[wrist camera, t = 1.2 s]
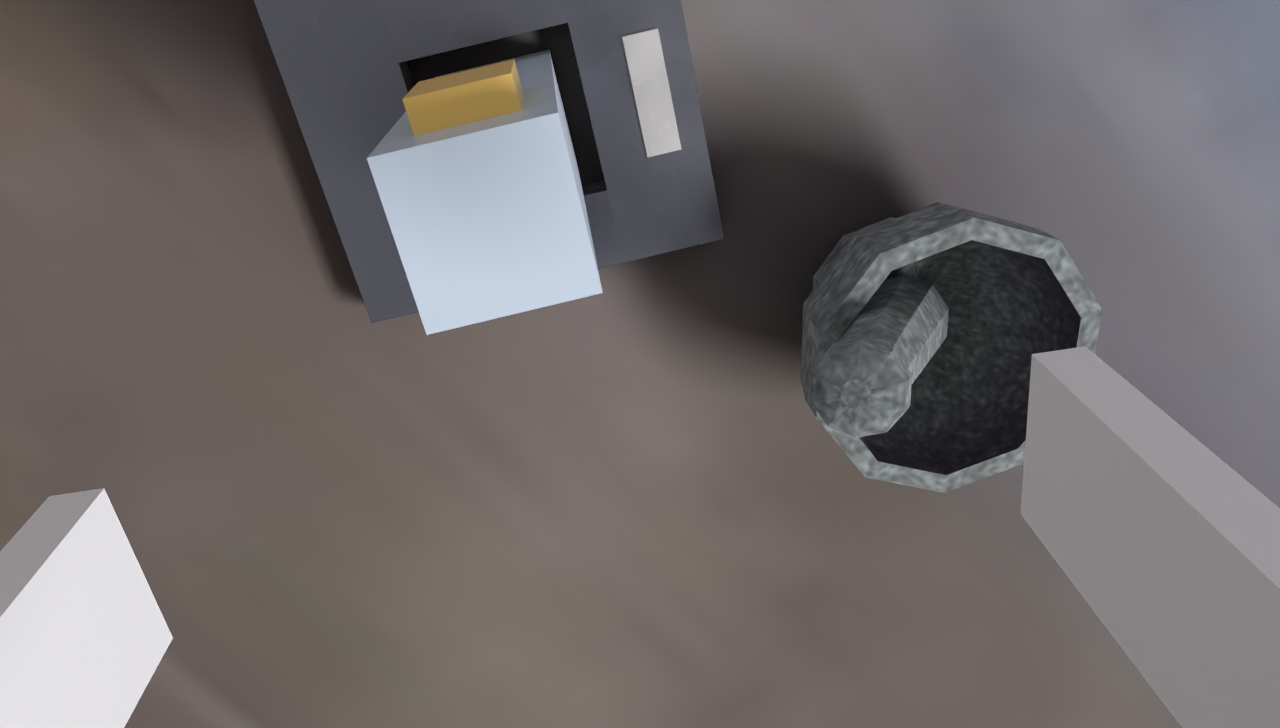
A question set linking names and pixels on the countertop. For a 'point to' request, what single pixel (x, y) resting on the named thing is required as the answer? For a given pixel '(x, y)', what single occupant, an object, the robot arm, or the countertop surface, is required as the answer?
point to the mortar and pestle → (938, 341)
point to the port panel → (476, 13)
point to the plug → (486, 194)
